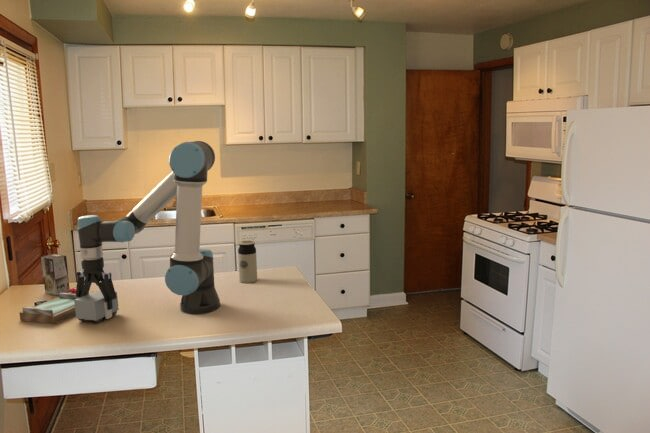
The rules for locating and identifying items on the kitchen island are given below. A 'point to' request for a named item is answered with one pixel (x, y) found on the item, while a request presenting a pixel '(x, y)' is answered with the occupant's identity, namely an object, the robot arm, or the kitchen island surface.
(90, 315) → the grey cart
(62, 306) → the tray
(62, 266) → the coffee box
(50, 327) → the kitchen island surface
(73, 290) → the race car
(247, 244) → the travel mug
